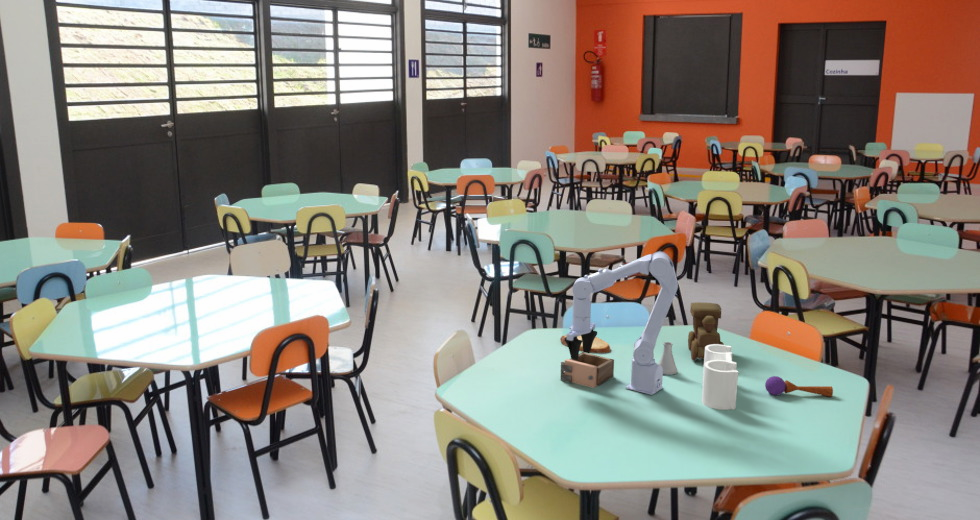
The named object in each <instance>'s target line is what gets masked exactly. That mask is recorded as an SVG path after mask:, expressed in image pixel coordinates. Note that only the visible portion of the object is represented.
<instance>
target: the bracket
mask: <svg viewBox="0 0 980 520" xmlns="http://www.w3.org/2000/svg"><path fill="white" fill-rule="evenodd" d="M733 354H734V353H733V352H732V346H731V345H726V344H724V345H720V344H711V345H707V346H706V347H705V355H704V358H703V373H702V393H701V403H702V404H703V405H704V406H706V407H707V408H711V409H713V410H725V411H726V410H735V409H736V406H737V393H738V380H739V379H738V378H739V371H738V370H737V364H738V363H737V362H736V361H733Z"/></svg>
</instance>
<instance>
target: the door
mask: <svg viewBox="0 0 980 520" xmlns="http://www.w3.org/2000/svg"><path fill="white" fill-rule="evenodd" d="M570 359H571V358H569V359H568V358H566V359H565V360H564V362H565V365H568V366H572V370H571V373H569V372H565V371H564V374H565V375H569V376H571V383H574V384H577V385H581V386H583V387H584V386H585V387H589V388H592V389H594V388H596V387H597V385H596V374H597V366H594V365H590V364H586V363H582V362H578V361H574V360H570Z"/></svg>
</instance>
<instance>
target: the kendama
mask: <svg viewBox="0 0 980 520" xmlns="http://www.w3.org/2000/svg"><path fill="white" fill-rule="evenodd" d="M764 386H765V390H766V391H767V392H768V394H770V395H772V396H781V395H782V394H783V393H784V394H789V393H792V392H795V391H801V392H805V393H810V394H816V395H818V396H819V395H820V396H824V397H829V398H832V397H833V393H834V387H833V386H823V385H822V386H819V385H818V386H817V385H816V386H812V385H811V386H807V385H806V386H802V385H801V386H797V385H796V384H794V383H792V382H791V381H789V380H787V379H786V380H784V379H783V378H782V377H780V376H776V375H773V376H770V377H768V378H767V380H766V381H765V384H764Z"/></svg>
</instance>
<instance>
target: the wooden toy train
mask: <svg viewBox="0 0 980 520" xmlns="http://www.w3.org/2000/svg"><path fill="white" fill-rule="evenodd" d="M690 315H691V316H692V329H693V330H691V331H689V332H688V337H687V346H688V350H690V358H691V361H697V359H704V355H705V347H706V346H707V345H711V344H720V345H725V344H724V342H723V341H722V340H721V334H720V332H718V327H719V319H722V307H721V305H720V304H719V303H714V302H690Z"/></svg>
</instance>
